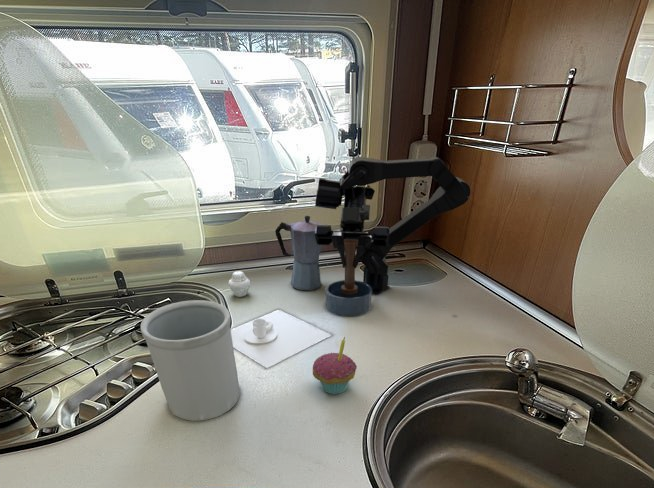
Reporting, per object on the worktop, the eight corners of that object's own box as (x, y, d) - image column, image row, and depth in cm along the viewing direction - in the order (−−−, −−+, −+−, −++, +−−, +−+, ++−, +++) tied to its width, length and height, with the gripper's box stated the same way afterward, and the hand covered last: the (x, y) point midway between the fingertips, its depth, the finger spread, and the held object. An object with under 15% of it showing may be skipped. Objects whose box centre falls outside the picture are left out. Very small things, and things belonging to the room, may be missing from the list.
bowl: (316, 306, 114) (316, 289, 111) (346, 293, 121) (346, 276, 118) (350, 321, 107) (351, 303, 104) (380, 305, 114) (381, 288, 111)
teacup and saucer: (265, 324, 106) (264, 309, 104) (286, 335, 102) (285, 320, 99) (237, 337, 102) (235, 321, 99) (257, 349, 97) (255, 333, 95)
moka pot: (330, 291, 122) (330, 220, 110) (277, 292, 123) (271, 221, 111) (330, 278, 130) (330, 210, 118) (280, 279, 130) (275, 211, 118)
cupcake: (360, 379, 87) (362, 327, 80) (348, 404, 80) (350, 350, 73) (320, 372, 89) (319, 321, 82) (306, 395, 83) (304, 342, 76)
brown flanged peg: (337, 291, 112) (337, 242, 104) (348, 286, 114) (349, 238, 107) (350, 296, 109) (351, 246, 102) (361, 290, 112) (362, 241, 104)
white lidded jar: (255, 292, 122) (253, 269, 118) (242, 300, 118) (239, 276, 114) (239, 288, 125) (236, 265, 121) (225, 296, 121) (221, 272, 117)
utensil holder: (217, 431, 74) (198, 346, 64) (148, 414, 79) (120, 331, 68) (255, 385, 86) (245, 306, 75) (193, 371, 90) (175, 295, 80)
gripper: (314, 190, 102) (308, 251, 100) (392, 191, 100) (387, 253, 97) (320, 216, 113) (314, 271, 111) (390, 217, 111) (386, 273, 108)
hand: (349, 267), depth 107 cm, fingers closed on brown flanged peg, 2 cm apart
